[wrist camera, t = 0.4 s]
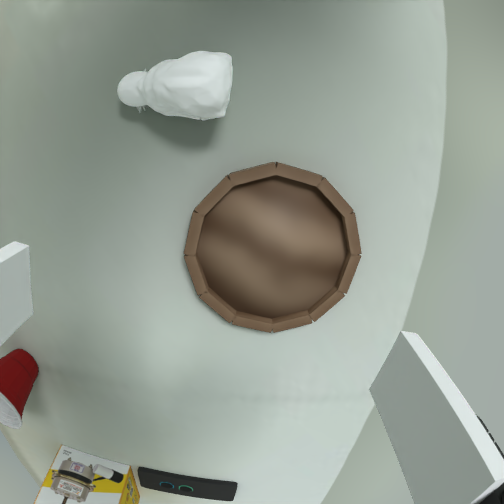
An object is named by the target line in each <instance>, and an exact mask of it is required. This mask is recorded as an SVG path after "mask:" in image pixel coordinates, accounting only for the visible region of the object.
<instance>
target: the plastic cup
mask: <svg viewBox="0 0 504 504" xmlns="http://www.w3.org/2000/svg"><path fill="white" fill-rule="evenodd" d="M38 372H39V371H38V366H37V363H36V361H35V360H34V359H33V357H32V356H31V355H30V354H29V353H28V352H26V351H24V350H23V349H16V350H14V351H12V352H10V353H9V354H7V355H6V356H4V357H2V358H1V359H0V423H2V424H4V425H5V426H8V427H11V428H14V429H18V428H20V427H21V425H22V415H23V414H22V413H23V410H24V406H25V404H26V401H27V399H28V396H29V394H30V392H31V389H32V387H33V383H34V381H35V379H36V377H37V375H38Z"/></svg>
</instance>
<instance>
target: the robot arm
mask: <svg viewBox="0 0 504 504" xmlns="http://www.w3.org/2000/svg"><path fill="white" fill-rule="evenodd" d="M33 314H34V312H33V302H32V291H31V276H30V250H29V245H25V244H22V243H19V242H16V241H14V242H12V243H10V244H8V245H6V246H4V247H3V248H1V249H0V346H1V345H2V344H3V343H4V342H5V341H6V340H7V339H8V338H9V337H10V336H11V335H12V334H13V333H14V332H15V331H16V330H17V329H18V328H19V327H20V326H21V325H22V324H23V323H24V322H25V321H26V320H27V319H28V318H29V317H30V316H32V315H33ZM369 390H370V392H371V395H372V397H373V399H374V402H375V404H376V407H377V409H378V411H379V414H380V416H381V419H382V421H383V423H384V426H385V428H386V431H387V433H388V436H389V438H390V441H391V443H392V446H393V448H394V451H395V453H396V456H397V458H398V461H399V464H400V466H401V469H402V471H403V474H404V476H405V479H406V482H407V485H408V488H409V490H410V493H411V496H412V498H413V501H414V504H504V455H503V453H502V451H501V450H500V448H499V446H498V445H497V443H496V442H495V443H494V439H493V437H492V435H491V434H490V433H488V429H487V428H486V426H485V424H484V423H483V421H482V420H481V419H480V418H479V417H478V416H477V415H476V414H475V413H474V412H473V410H472V409H471V407H470V406H469V404H468V403H467V401H466V400H465V398H464V397H463V396H462V394H461V393H460V391H459V390H458V388H457V387H456V385H455V384H454V383H453V381H452V380H451V378H450V377H449V376H448V374H447V373H446V372H445V370H444V369H443V367H442V366H441V365H440V363H439V362H438V361H437V360H436V358H435V356H434V355H433V354H432V352H431V351H430V350H429V349H428V347H427V346H426V344H425V343H424V342H423V341H422V339H421V338H420V337H419V335H418V334H417V333H410V332H404V331H401V332H400V334H399V336H398V338H397V340H396V342H395V343H394V345H393V347H392V349H391V351H390V353H389V355H388V357H387V359H386V360H385V362H384V364H383V366H382V368H381V370H380V371H379V373H378V375H377V377H376V378H375V380H374V382H373V383H372V385H371V387H370V389H369Z"/></svg>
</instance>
